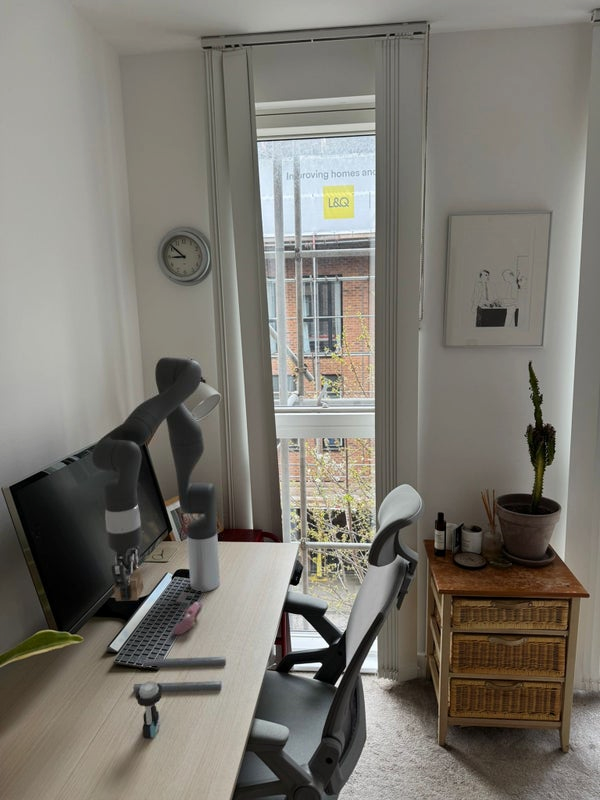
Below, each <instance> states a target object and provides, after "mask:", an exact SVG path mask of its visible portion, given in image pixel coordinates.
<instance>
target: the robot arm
mask: <svg viewBox="0 0 600 800" xmlns="http://www.w3.org/2000/svg"><path fill="white" fill-rule="evenodd" d="M154 371H155V372H154V374H155V384H156V388H157V390H158V394H155V396H152V397H150V398H148V399H147V400H145V401H143V402H142V403H140V404H139V405H138V406H136V408H135V409H133V410H132V411H131V413H130V414H129V415H128V416H127V418H126V419H125V420H124V422H123V423H122V424H120V425H118V426H117V427H114V429H112V430H110V431H109V432H108V433H107V434H105V435H104V436H103V437H102V438H100V439H99V440H98V442H97V443H96V444H95V446H94V448H93V450H92V453H91V460H92V463H93V465H94V466H95V468H97V469H99V470H101V471H105V472H106V471H108V472H117V473H118V478H115V479H113V480H110V481H108V482H107V483H105V485H104V486H103V495H104V496H103V497H104V505H105V507H104V508H105V515H104V519H105V526H106V527H105V531H106V537H107V538H106V539H107V540H106V541H107V546H108V548H109V549H110V550H113V551H115V552H116V553H115V559H114V562H115V564H112V565H111V569H110V570H111V574H112V579H113V584H114V583H115V587H120V594H121V600H130V599H131V587H130V575H131V574H132V573H133V570H136V569H140V568H139V566H140V565H141V544H142V542H143V533H142V521H141V511H140V508H139V502H138V491H137V488H138V487H137V486H138V480H139V475H140V470H141V464H142V457H143V456H142V451H141V449H140V447H141V446H143V445H145V444H146V443H147V442H148V441H149V440H150V439H151V437H152V436H153V435H154V434H155V432H156V430H158V428H159V426H161V424H162V423H163V422H164V421H166V426H167V432H168V438H169V444H170V449H171V454H172V458H173V462H174V467H175V474H176V484H177V493H178V494H177V495H178V502H179V507H180V510H181V512H182V513H183V514H189V515H198V514H201V515H202V514H203V515H204V516H202V517H200V518H198V519H196V520H193V521H191V522H190V523H188V525H187V526H186V540H187V541H186V542H187V543H186V544H187V552H188V553H187V554H188V556H187V557H188V567H189V568H188V569H189V570H188V571H189V583H190V584H189V585H190V588H191V589H192V590H193V589H194V590H196V591H195V592H198V591H201V592H200V593H204V592H210V591H211V592H212V591H213V590H215V589H217V588H218V587H219V586H220V585H221V576H220V574H221V573H220V559H219V558H220V556H219V544H218V543H219V542H218V539H219V538H218V529H217V528H218V524H217V523H218V522H217V521H218V519H217V489H216V487H215V485H214V484H213V483H211V482H210V483H209V482H201V483H199V482H195V483H192V482H191V480H190V478H191V475H192V473H193V471H194V470H195V467H196V466H197V464H198V463H199V461H200V459H201V458H202V456H203V454H204V450H205V445H204V437H203V432H202V431H203V430H202V427H201V426H200V424H199V422H198V420H197V419H196V418H195V417H194V416H193V414H192V413H191V412H190V411H189V409H188V408H187V406H185V404H184V402H185V401H186V400H188V398H190V397H191V395H193V394H194V393H195V392H196V390H197V389H198V387H199V386H200V383H201V380H202V369H201V365H200V364H199V363H198V362H197V361H195V360H193V359H188V358H182V357H181V358H180V357H179V358H178V357H170V356H168V357H166V356H165V357H162V358H160V359H158V361H157V363H156V366H155V370H154ZM125 570H129V571H125ZM126 576H127V578H126ZM194 590H193V591H194ZM130 601H131V600H130Z"/></svg>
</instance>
